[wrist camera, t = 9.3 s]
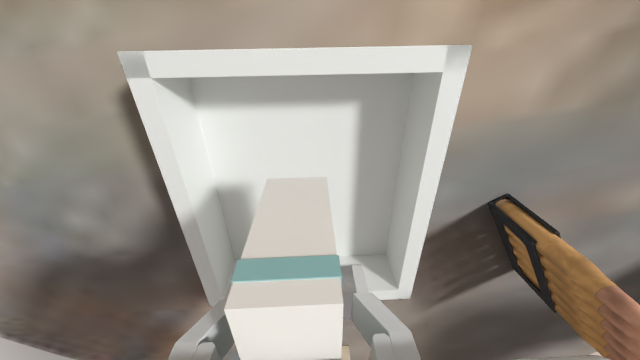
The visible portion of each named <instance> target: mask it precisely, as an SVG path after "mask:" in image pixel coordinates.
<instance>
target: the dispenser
mask: <svg viewBox="0 0 640 360" xmlns="http://www.w3.org/2000/svg"><path fill="white" fill-rule="evenodd" d="M341 360H350V353H349V345H348V346H342V355H341Z"/></svg>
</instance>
